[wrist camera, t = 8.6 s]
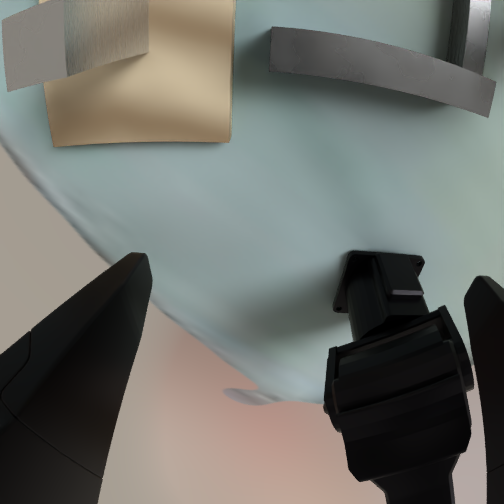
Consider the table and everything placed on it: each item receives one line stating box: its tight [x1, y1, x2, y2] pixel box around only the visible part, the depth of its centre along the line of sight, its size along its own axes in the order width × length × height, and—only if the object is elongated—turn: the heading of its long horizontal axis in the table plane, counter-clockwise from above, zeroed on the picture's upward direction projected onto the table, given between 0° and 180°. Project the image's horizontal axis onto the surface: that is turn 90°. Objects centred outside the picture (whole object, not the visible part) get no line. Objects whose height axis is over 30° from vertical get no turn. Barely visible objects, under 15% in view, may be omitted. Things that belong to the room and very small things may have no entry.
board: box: [39, 0, 236, 147], centre depth 14 cm, size 14×12×1 cm
